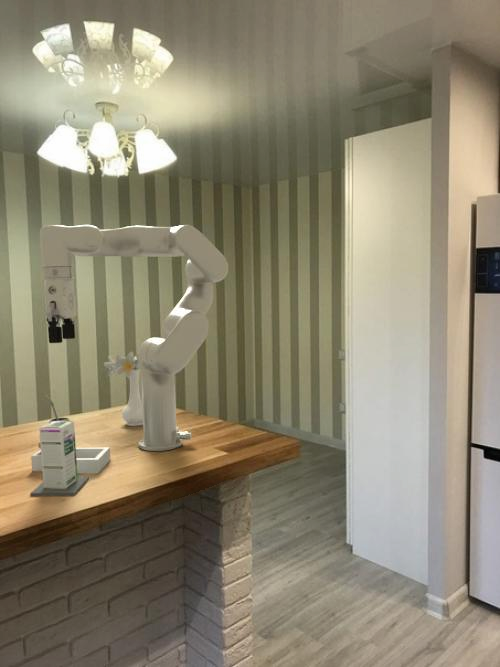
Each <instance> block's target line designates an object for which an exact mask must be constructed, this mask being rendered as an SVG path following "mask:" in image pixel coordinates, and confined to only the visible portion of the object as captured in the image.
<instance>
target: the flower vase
mask: <svg viewBox="0 0 500 667" xmlns="http://www.w3.org/2000/svg"><path fill="white" fill-rule="evenodd" d="M134 354H135V353H134V352H133V351H129V353H128V354H127V355H126V356H125V357H122V356H121V354H120V353H116V361H115V360H114V359H113V358H112V357H111V355H108V356H107V358H108V362H107V361H106V362H104V363H103V366H104V367H105V368H107V369H109V370H108V372H107V376H108V377H109V378H111V377H112V376H113V374H114V376H115V377H118V376H121V375H123V374H124V373H125V376H126V378H128V379H129V398H128V402H127V404H126V406H124V408H123V410H122V412H121V419H122V420H123V421H124V422H126V426H129V427H140V426H143V407H142V397H141V395H140V384H139V383H140V382H139V381H140V367H139V361H138V353H136V354H135V356H134Z"/></svg>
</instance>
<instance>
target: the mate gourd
mask: <svg viewBox="0 0 500 667" xmlns="http://www.w3.org/2000/svg"><path fill="white" fill-rule="evenodd" d="M44 397H45V398H46V399H47V400H48V401H49V403H50V407H52V408H51V409H52V411H53V414H54V417H55V418H52V419H51V420H50V421H49V422H48V424H49V423H51V422H52V421H71V420H70V419H69V417H58V414H57V411H56V408H55V403H54V402H53V400H52V399H51V398H50V397H49V396H48V395H47V394H44Z"/></svg>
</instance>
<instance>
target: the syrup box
mask: <svg viewBox="0 0 500 667" xmlns="http://www.w3.org/2000/svg"><path fill="white" fill-rule="evenodd" d="M38 430H39V443H40V445H41V448H40V449H41V459H42V471H41V472H42V482H43V486H44V488H52V489H66V488H67V487H68V486H70V485H71V484H72V483H74V482H75V481H77V480H78V477H79V476H78V473H77V461H76V448H77V446H76V434H75V433H76V432H75V422H74V421H73V420H72V421H71V420H70V421H52V422H51V423H49V422H48V424H45V425H43V426H41V427H39V428H38Z"/></svg>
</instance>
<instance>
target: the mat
mask: <svg viewBox="0 0 500 667" xmlns="http://www.w3.org/2000/svg"><path fill="white" fill-rule="evenodd" d="M89 480H90V476H78V480H77V481H75V482H74V483H72V484H71V485H70V486H68V487H67V488H66V489H52V488H44V486H43V481H42V482H41V483H40V484H39V485H38V486H37V487H36V488H34V489H33V490H32V491H31V492H30V493H29V494H30V496H31V497H38V496H39V497H44V496H43V495H51V496H52V497H53V496H54V497H55V495H57V497H58V496H59V497H60V496H62V497H63V496H75V495H76V494H78V492H79V491H80V490H81V489H82V488H83V487H84V486H85V485H86V484H87V482H88V481H89ZM35 495H37V496H35ZM51 496H50V497H51Z"/></svg>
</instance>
